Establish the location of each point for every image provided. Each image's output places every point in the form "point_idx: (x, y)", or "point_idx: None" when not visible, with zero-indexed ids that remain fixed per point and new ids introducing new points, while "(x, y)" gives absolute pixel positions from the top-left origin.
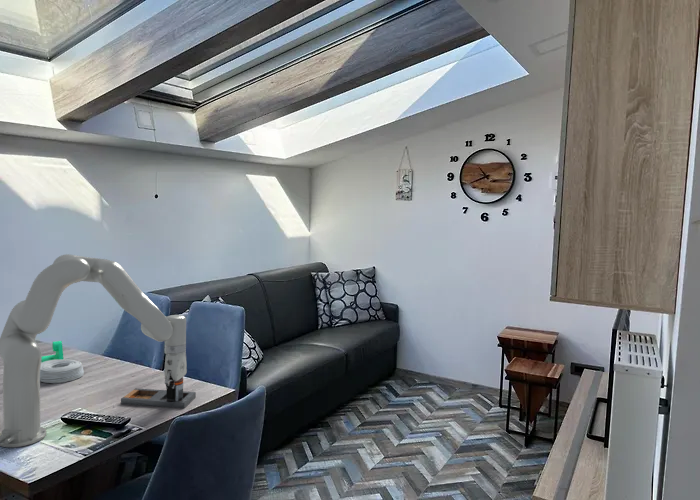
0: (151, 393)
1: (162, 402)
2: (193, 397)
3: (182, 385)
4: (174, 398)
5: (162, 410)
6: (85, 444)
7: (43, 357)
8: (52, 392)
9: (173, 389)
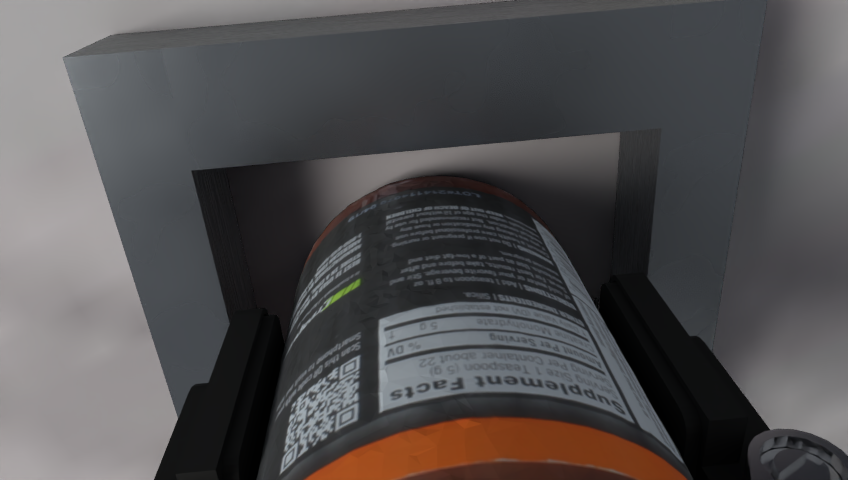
0: None
1: None
2: (222, 32)
3: (462, 357)
4: (642, 277)
5: (803, 283)
6: None
7: None
8: None
9: (726, 430)
